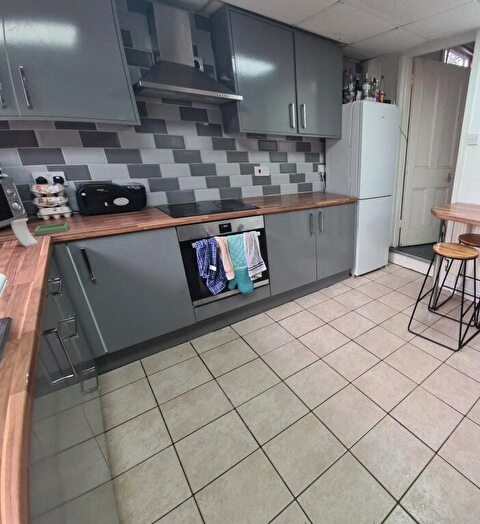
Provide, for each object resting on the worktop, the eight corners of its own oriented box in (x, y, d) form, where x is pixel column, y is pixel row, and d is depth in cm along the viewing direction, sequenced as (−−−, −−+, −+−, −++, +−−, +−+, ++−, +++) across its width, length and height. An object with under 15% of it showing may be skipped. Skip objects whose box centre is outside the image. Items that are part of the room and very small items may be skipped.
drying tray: (35, 235, 145) (33, 231, 144) (39, 229, 153) (37, 225, 152) (66, 231, 151) (65, 227, 151) (68, 225, 160) (67, 222, 159)
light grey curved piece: (25, 246, 131) (13, 220, 126) (19, 244, 133) (7, 219, 128) (39, 243, 134) (27, 218, 130) (33, 241, 137) (21, 216, 132)
